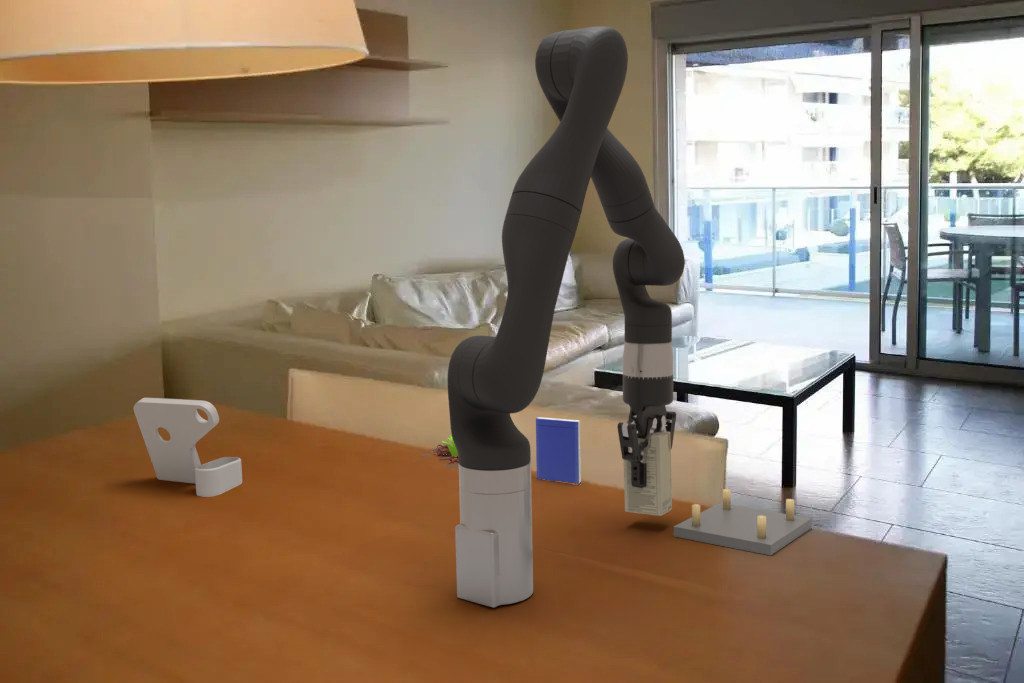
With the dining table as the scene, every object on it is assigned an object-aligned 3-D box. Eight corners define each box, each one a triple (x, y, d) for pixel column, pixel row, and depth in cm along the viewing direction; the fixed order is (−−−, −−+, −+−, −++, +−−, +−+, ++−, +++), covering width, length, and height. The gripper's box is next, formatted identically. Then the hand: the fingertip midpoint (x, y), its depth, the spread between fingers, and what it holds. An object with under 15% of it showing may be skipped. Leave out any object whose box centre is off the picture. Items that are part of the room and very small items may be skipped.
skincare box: (672, 510, 147) (673, 431, 146) (661, 517, 144) (661, 436, 143) (634, 504, 151) (634, 427, 150) (622, 511, 147) (622, 432, 146)
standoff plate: (770, 555, 133) (771, 523, 133) (673, 536, 142) (673, 506, 142) (811, 528, 145) (812, 498, 144) (719, 512, 154) (719, 484, 154)
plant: (396, 468, 190) (394, 411, 189) (476, 452, 202) (474, 399, 201) (455, 487, 174) (453, 426, 173) (538, 469, 186) (537, 411, 185)
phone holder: (250, 492, 173) (245, 392, 171) (214, 507, 163) (208, 402, 161) (171, 485, 179) (165, 389, 177) (131, 499, 169) (125, 398, 167)
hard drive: (578, 492, 168) (577, 421, 166) (536, 487, 172) (534, 418, 170) (581, 490, 169) (580, 420, 168) (540, 485, 173) (538, 416, 172)
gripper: (645, 379, 137) (645, 497, 139) (692, 368, 148) (692, 477, 150) (600, 375, 142) (601, 489, 144) (649, 364, 153) (649, 471, 155)
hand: (647, 482), depth 147 cm, fingers closed on skincare box, 4 cm apart
